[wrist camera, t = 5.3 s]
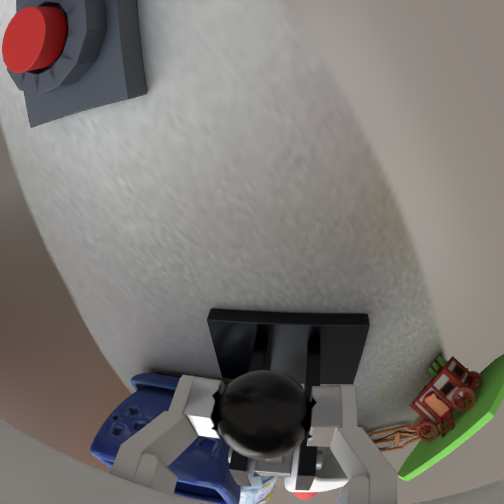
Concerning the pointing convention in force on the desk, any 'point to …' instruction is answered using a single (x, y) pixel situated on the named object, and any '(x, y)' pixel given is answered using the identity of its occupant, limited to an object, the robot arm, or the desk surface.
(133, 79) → the control box
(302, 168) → the desk surface
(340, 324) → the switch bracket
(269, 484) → the pencil case
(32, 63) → the button
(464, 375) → the green stand with toy
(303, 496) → the stress ball
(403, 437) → the emblem
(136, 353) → the desk surface
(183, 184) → the desk surface
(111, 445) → the flower pot
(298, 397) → the switch lever
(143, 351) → the desk surface
